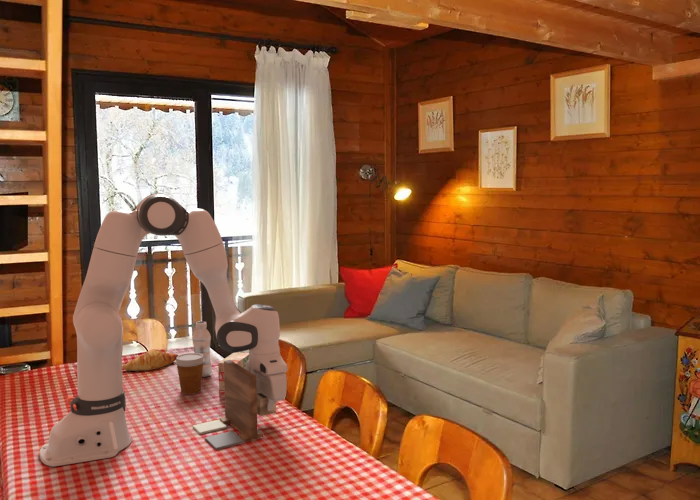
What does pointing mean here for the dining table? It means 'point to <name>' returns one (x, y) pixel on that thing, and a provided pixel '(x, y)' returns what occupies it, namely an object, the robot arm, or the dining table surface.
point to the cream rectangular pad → (209, 426)
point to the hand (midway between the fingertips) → (264, 406)
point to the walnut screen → (241, 401)
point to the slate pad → (224, 440)
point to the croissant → (150, 361)
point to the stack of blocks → (235, 357)
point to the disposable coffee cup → (190, 372)
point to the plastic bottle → (203, 346)
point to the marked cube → (264, 405)
